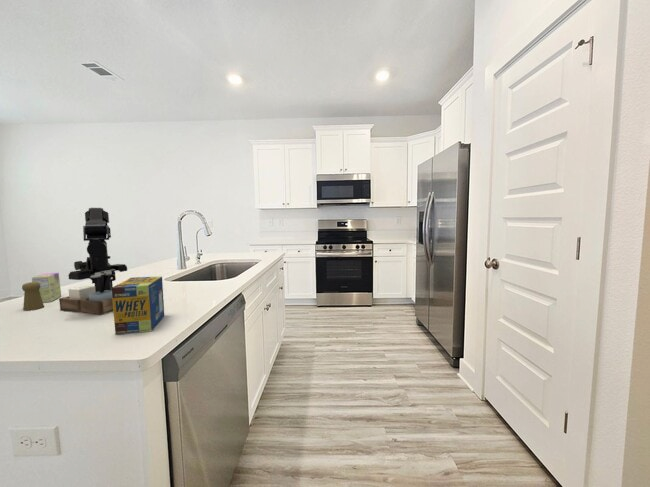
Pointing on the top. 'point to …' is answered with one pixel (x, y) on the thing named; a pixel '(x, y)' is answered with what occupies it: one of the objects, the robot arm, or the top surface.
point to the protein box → (138, 304)
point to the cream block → (81, 292)
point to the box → (48, 286)
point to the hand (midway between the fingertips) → (101, 292)
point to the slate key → (100, 295)
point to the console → (86, 305)
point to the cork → (32, 296)
